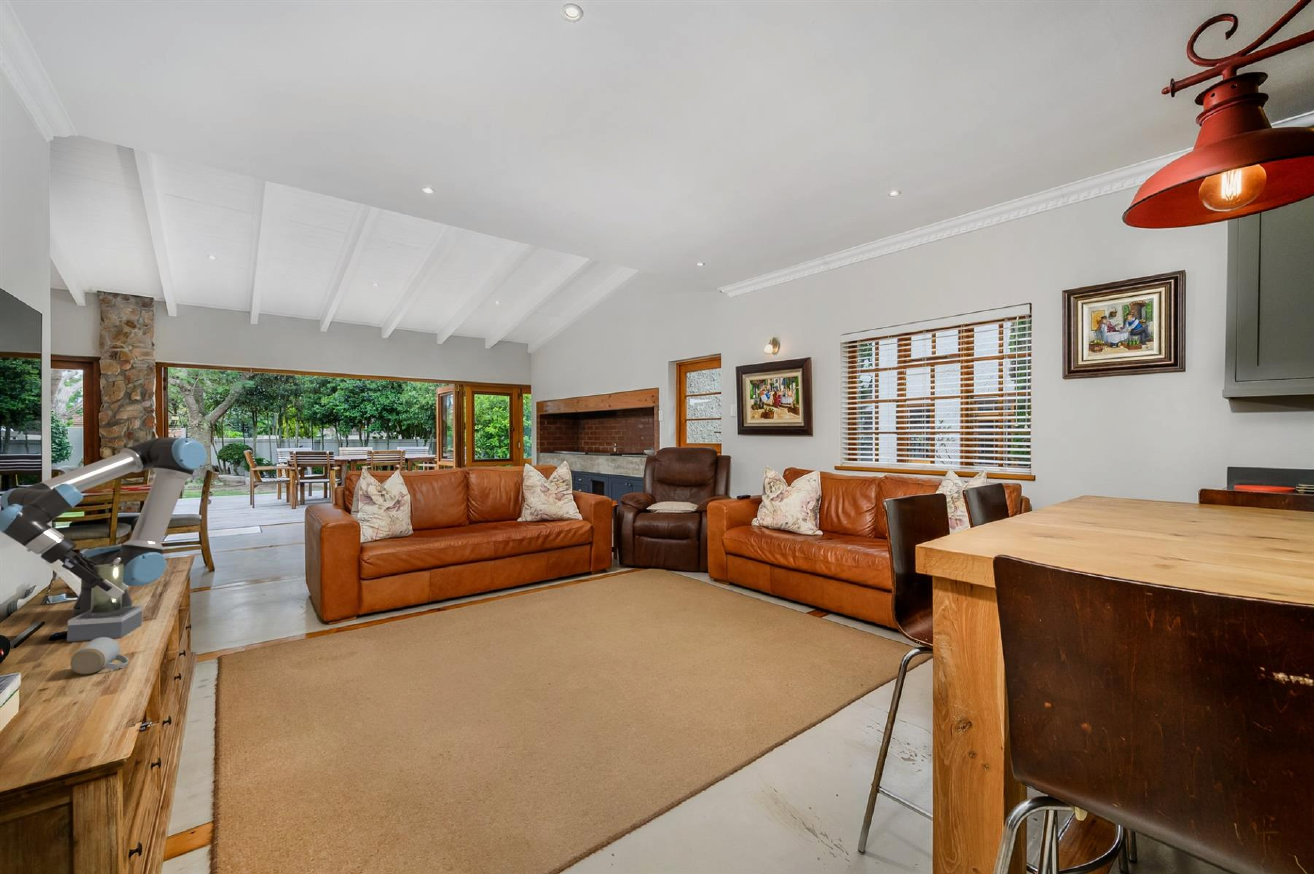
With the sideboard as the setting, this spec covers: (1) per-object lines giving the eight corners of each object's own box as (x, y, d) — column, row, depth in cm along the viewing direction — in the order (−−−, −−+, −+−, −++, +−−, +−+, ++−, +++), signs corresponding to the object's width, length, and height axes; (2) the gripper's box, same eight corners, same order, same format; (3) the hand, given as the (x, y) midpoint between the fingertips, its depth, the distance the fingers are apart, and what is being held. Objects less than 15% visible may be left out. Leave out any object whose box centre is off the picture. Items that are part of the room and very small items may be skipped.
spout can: (85, 613, 172) (88, 560, 172) (98, 607, 179) (101, 556, 179) (114, 612, 175) (117, 559, 175) (125, 606, 181) (128, 555, 181)
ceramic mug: (66, 678, 144) (69, 648, 144) (83, 666, 151) (85, 637, 152) (120, 673, 148) (122, 644, 148) (133, 662, 156) (135, 634, 156)
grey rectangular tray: (96, 625, 183) (97, 606, 183) (145, 622, 188) (146, 603, 188) (66, 641, 168) (67, 620, 168) (120, 637, 173) (121, 617, 173)
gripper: (48, 550, 176) (116, 595, 185) (28, 561, 160) (103, 610, 169) (73, 532, 179) (138, 577, 188) (56, 541, 163) (128, 590, 172)
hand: (122, 592), depth 179 cm, fingers closed on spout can, 7 cm apart
